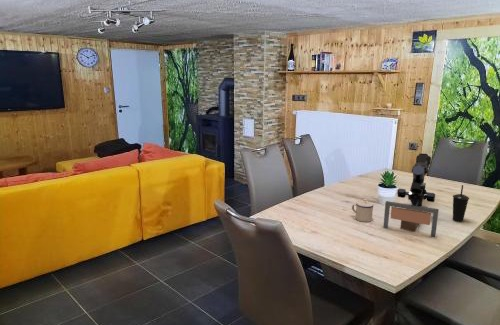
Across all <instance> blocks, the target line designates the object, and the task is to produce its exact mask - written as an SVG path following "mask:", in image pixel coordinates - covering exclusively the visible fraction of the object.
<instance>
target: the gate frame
mask: <svg viewBox="0 0 500 325" xmlns="http://www.w3.org/2000/svg"><path fill="white" fill-rule="evenodd" d="M384 205H385V206H384V216H383V229H388V228H389V222H390V221H389V219H390V212H391V210H390V209H391V207H396V208H403V209H411V210H417V211H422V212H428V213H431V214H433V215H432V223H431V230H430V238H436V236H437V235H436V234H437V233H436V232H437V226H438V225H437V224H438V218H439V208H434V207H428V206H423V205H422V206H423V207H422V206H415V205H412V204H408V203H401V202H394V201H386V200H385V204H384Z"/></svg>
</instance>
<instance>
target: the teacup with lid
mask: <svg viewBox="0 0 500 325" xmlns="http://www.w3.org/2000/svg"><path fill="white" fill-rule="evenodd" d="M351 205H352V206H351V210H352V211H353V213H355V219H356V220H357V221H358V222H363V223H369V222H371V221H372V220H373V211H374V209H373V208H374V203H373V202H372V201H368V198H363V199H362V200H358V201H357V202H356V203H354V204H351ZM355 206H356V207H355ZM355 208H356V209H355Z"/></svg>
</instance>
